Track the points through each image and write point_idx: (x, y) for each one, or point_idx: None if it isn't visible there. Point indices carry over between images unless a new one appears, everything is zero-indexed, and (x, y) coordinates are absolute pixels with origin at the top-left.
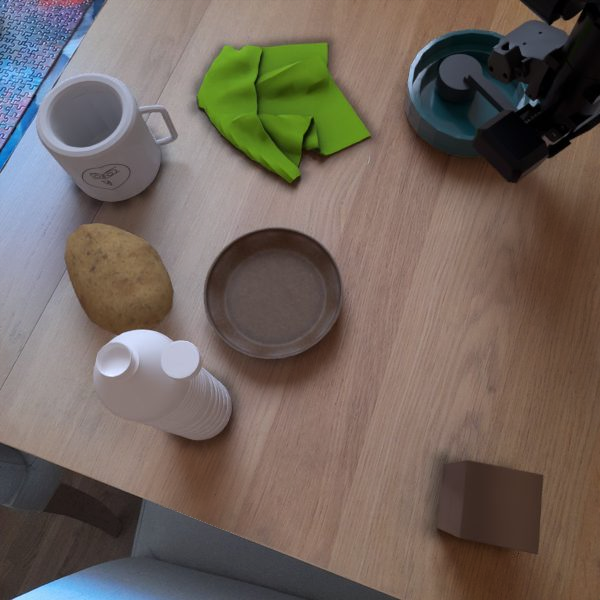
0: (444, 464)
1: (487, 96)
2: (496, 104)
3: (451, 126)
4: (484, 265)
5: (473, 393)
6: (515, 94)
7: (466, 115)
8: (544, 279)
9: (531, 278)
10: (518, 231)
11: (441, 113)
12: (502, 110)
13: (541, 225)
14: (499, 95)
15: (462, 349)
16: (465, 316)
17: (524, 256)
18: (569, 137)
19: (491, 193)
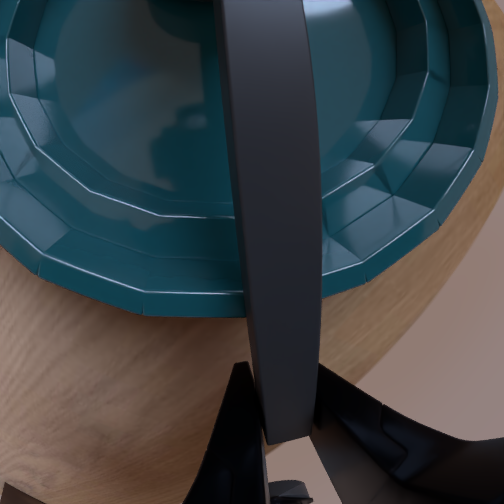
0: (4, 484)
1: (220, 30)
2: (228, 116)
3: (95, 68)
4: (53, 429)
5: (28, 479)
6: (382, 89)
7: (174, 49)
8: (143, 472)
9: (123, 466)
10: (133, 424)
11: (103, 10)
12: (234, 184)
13: (185, 431)
14: (286, 74)
15: (17, 460)
16: (20, 447)
17: (125, 449)
18: (343, 501)
19: (107, 342)
